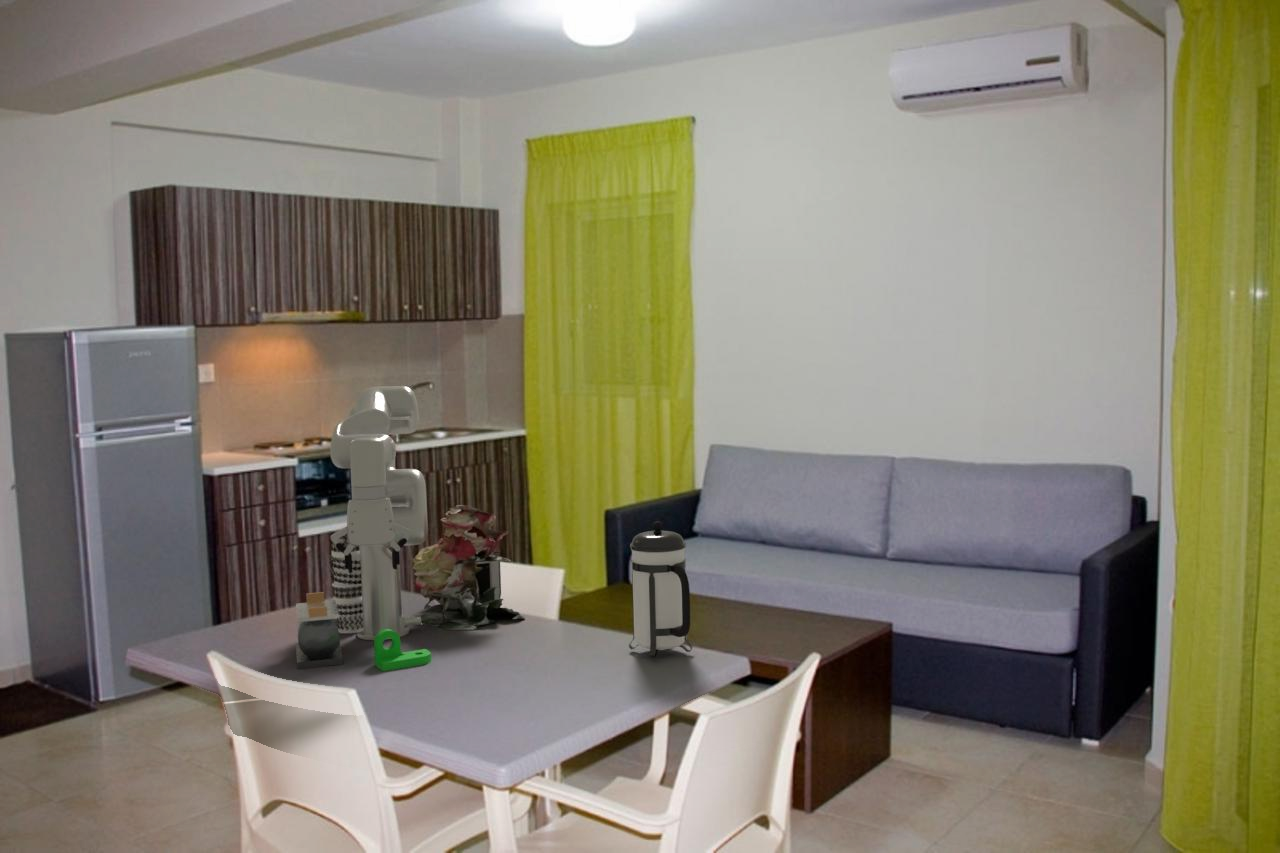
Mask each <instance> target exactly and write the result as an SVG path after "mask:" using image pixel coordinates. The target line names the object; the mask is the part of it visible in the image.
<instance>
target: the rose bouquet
mask: <svg viewBox="0 0 1280 853" xmlns="http://www.w3.org/2000/svg"><path fill="white" fill-rule="evenodd" d="M444 515H445V516H446V517H443V518H441V519H440V522H441V523H442V525H443V526H444V528H445V529H444V532H443V533H441V534H440V537H441V538H439V539H437V542H435V543H433V544H432V545H430V546H426V547H422V548H421V549H420V550H419V551H418V554H416V555H415V557H414V558H413V559H412V562H413V566H412V569H413V570H415V572H414V573H413V575H414V576H416V578H415V581H414V583H413V584H414V586H415V588H416V589H421V590H420V592H421V593H420V595H421V596H422V597H424V599H428V601H427V603H426V604H424V607H423V609H424V610H427V609H430V608H431V606H432V605H429V604H431V602H432V601H434V600H435V599H437V600H438V601H440V600H441V598H442V597H444V604H443V605H442V613H440V612H438V613H437V612H420V613H413V614H412V615H411V616H410V617H412V616H415V617H421V623H425V624H426V626H425V627H435V628H436V627H437V628H441V629H444V630H446V631H457V630H458V631H459V630H466V631H467V630H471V631H473V630H477V629H478V626H482V625H483V626H484V625H490V624H496V623H497V621H496V620H492V619H490V618H488V617H487V616H490V615H498V614H508V615H509V616H511V617H513V618H512V620H519V619H522V620H523V619H524V620H525V619H526V618H525V616H522V615H521V614H520V612H518V611H514V610H513V609H512V608H508V607H502V605H503V601H504V598H501V597H500V598H497V599H495V598H494V597H495V594H494V591H495V589H496V588H497V587H499V586H494V587H492V588H490V589H488V590H487V591H485V592H484V593H482V594H481V595H479V587H478V582H477V579H476V577H475V573H477V572H479V571H480V570H482V569H483V568H481V567H477V562H496V561H500V562H504V563H511V562H512V560H511V559H509V558H507V557H502V556H498V557H496V556H489V555H491V553H492V552H493V553H495V554H498V553H501V550H496V549H497V548H498V546H499V544H500V541H501V540H502V539H503V537H504V536H506V535H509V534H508V533H509V531H507V530H506V531H499V532H496V531H495V530H494V529H493V528H492V527H493V526H494V523H495V520H496V516H495V515H494V514H493V513H492V514H491V513H488V512H487V511H485V510H480V509H478V508H475V507H474V506H473V507H472V505H464V504H463V505H462V504H457V505H455V507H449V510H448V511H447V512H446V513H445V514H444ZM495 550H496V551H495ZM461 559H462V560H463V561H464V562H462V563H459V564H457V562H456V561H459V560H461ZM533 566H534V565H533V564H532V567H533ZM487 567H489V566H487ZM472 595H473V596H474V597H473V596H472ZM451 599H454V600H455V601H456V602H457V604H458V605H459V606H460V608H461V609H460V610H461V611H462V616H463V617H464V618H465V619H459V618H457V617H454V616H455V615H458V614H459V611H458V610H449V609H448V610H447V607H448V604H449V601H450V600H451Z"/></svg>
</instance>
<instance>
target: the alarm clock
mask: <svg viewBox="0 0 1280 853" xmlns="http://www.w3.org/2000/svg"><path fill="white" fill-rule="evenodd" d="M489 556H496V557H499V556H498V555H497V553H494V551H493V552H492V553H491V555H489ZM456 562H457V564H459V563H462V562H464V561H463V560H462V559H461V560H459V561H456ZM487 566H489V567H487ZM477 567H481V568H483V569H482V570H480V571H479V572H477V573H475V577H476V579H477V582H478V587H479V595H481V594H482V593H484V592H485V591H487V590H488V589H490V588H492V587H494V586H499V587H497V588H496V589H495V591H494V594H495V597H494V598H495V599H497V598H501V596H502V581H501V580H502V579H501V561H496V562H477ZM472 596H473V595H472ZM473 597H474V596H473ZM434 600H435V601H436V602H437V603H438V604H439V605H441V606H443V604H444V597H442V598H441V600H440V601H438V600H437V599H434ZM447 609H448V610H449V611H458V610H459V611H460V610H462V609H461V608H460V606H459V605H458V604H457V602H456V601H455V600H454V599H451V600H450V601H449V604H448V607H447ZM447 609H446V610H447Z"/></svg>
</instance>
